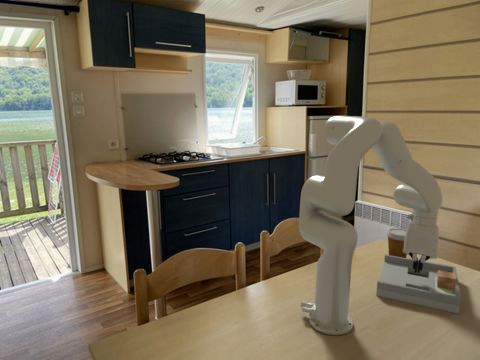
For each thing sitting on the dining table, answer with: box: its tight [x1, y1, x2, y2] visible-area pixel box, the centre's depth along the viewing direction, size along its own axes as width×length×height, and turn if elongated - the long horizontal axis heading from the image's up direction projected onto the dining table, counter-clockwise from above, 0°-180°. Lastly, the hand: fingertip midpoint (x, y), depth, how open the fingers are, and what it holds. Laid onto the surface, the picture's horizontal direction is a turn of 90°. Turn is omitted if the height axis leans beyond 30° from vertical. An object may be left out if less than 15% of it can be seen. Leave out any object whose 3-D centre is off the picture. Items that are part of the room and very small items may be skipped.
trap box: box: [375, 254, 462, 315], centre depth 128 cm, size 24×25×5 cm
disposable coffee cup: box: [386, 227, 408, 258], centre depth 151 cm, size 10×10×12 cm
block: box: [437, 270, 456, 290], centre depth 125 cm, size 5×5×4 cm
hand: (417, 271), depth 127 cm, fingers closed
